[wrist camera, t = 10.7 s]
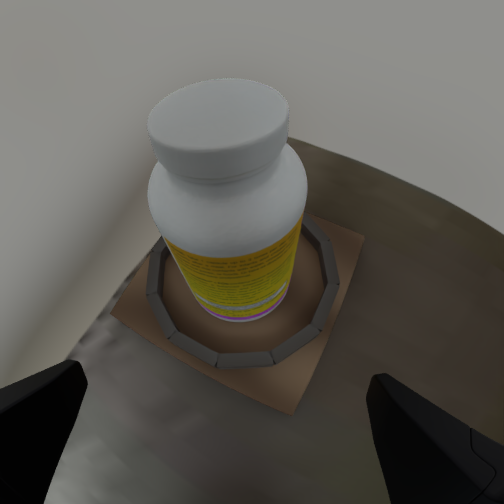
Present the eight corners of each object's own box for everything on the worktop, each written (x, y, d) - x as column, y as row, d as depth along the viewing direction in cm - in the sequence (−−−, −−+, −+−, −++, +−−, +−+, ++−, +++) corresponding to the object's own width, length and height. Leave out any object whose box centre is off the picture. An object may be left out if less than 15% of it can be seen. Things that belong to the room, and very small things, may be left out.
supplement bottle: (306, 300, 18) (365, 139, 7) (212, 340, 17) (128, 216, 6) (263, 223, 21) (264, 58, 10) (180, 256, 20) (113, 99, 9)
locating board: (289, 414, 16) (294, 417, 14) (118, 319, 19) (102, 308, 17) (359, 246, 22) (369, 227, 20) (210, 188, 25) (206, 167, 23)
